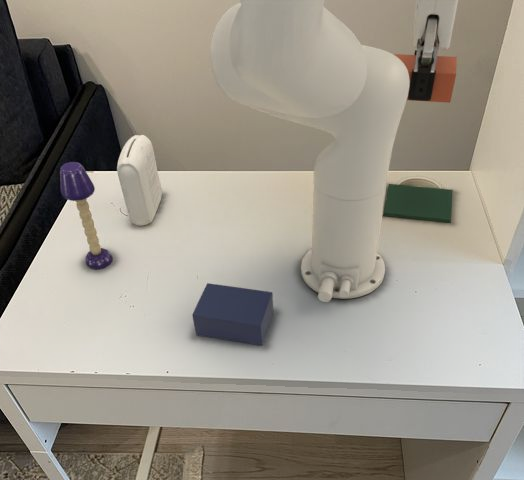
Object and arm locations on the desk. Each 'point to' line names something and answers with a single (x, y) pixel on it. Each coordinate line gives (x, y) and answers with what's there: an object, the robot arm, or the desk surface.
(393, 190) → the mat
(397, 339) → the desk surface
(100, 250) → the toy lamp
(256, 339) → the navy blue rectangular block
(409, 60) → the orange rectangular brick
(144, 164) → the photo printer
